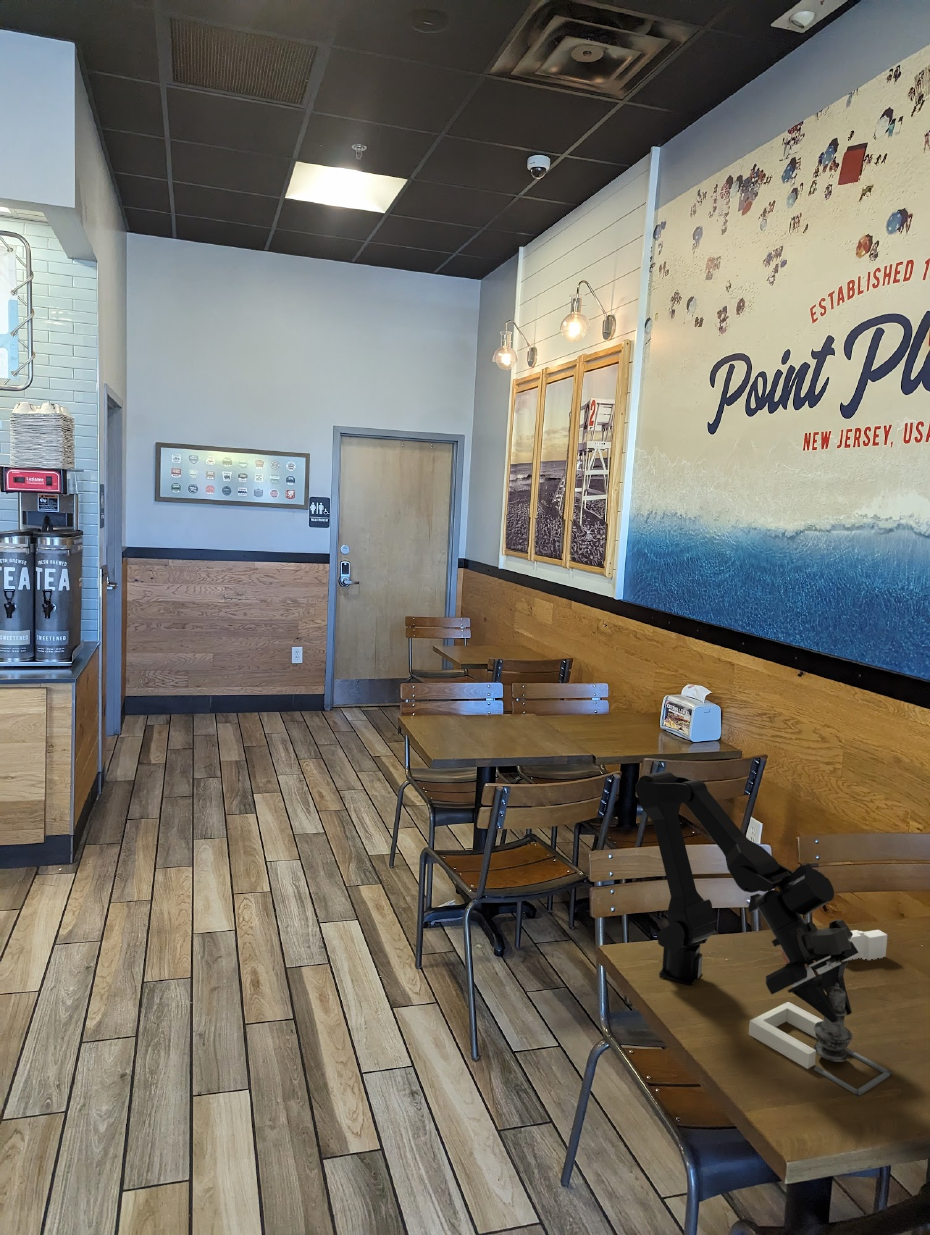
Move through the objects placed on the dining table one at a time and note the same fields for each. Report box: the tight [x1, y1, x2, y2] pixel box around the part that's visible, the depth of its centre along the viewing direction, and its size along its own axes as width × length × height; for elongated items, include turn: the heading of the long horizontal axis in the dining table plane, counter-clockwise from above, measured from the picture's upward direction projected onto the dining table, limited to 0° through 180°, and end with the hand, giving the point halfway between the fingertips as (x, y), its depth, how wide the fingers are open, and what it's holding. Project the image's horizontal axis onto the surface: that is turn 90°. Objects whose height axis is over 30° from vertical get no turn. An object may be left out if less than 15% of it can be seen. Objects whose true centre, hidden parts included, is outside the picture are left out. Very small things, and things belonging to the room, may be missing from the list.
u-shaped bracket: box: [748, 1001, 824, 1070], centre depth 147 cm, size 11×11×2 cm
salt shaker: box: [813, 983, 853, 1063], centre depth 141 cm, size 6×6×12 cm
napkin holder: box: [840, 929, 888, 963], centre depth 176 cm, size 15×11×6 cm
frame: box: [813, 1047, 893, 1097], centre depth 139 cm, size 8×10×1 cm
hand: (842, 1018), depth 140 cm, fingers closed on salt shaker, 4 cm apart
